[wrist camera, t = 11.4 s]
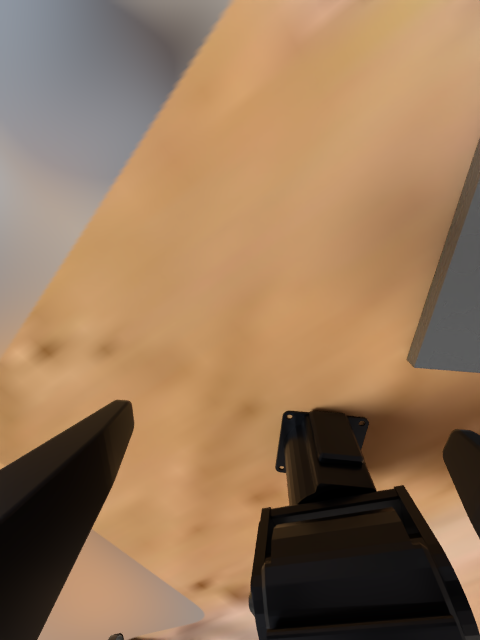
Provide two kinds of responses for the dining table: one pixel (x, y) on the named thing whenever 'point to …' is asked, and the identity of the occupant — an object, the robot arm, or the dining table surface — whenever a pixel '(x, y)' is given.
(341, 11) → the dining table surface
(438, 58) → the dining table surface
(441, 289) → the carrier plate
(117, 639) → the coffee press
